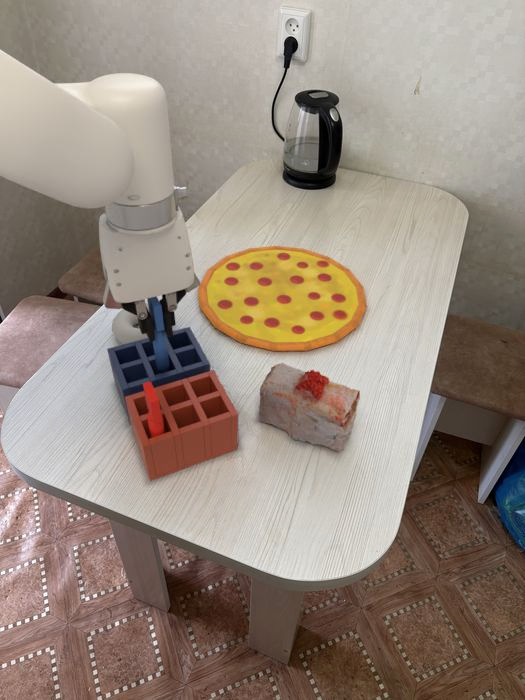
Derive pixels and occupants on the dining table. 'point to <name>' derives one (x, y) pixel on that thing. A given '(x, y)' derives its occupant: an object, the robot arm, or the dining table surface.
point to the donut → (127, 327)
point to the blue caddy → (140, 365)
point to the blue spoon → (159, 335)
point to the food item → (308, 406)
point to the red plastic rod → (153, 411)
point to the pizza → (282, 298)
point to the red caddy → (185, 424)
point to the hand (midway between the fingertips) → (158, 331)
